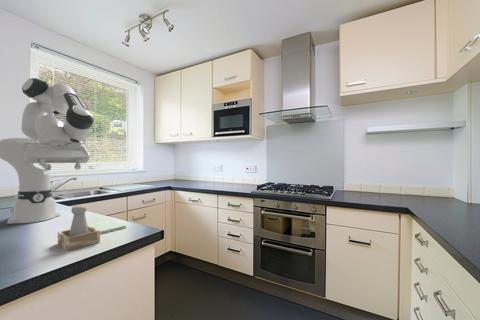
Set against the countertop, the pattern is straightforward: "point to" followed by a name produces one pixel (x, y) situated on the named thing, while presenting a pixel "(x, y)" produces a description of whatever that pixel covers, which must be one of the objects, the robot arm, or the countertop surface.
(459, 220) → the countertop surface
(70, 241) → the wooden box
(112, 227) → the sage mat
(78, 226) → the salt shaker
